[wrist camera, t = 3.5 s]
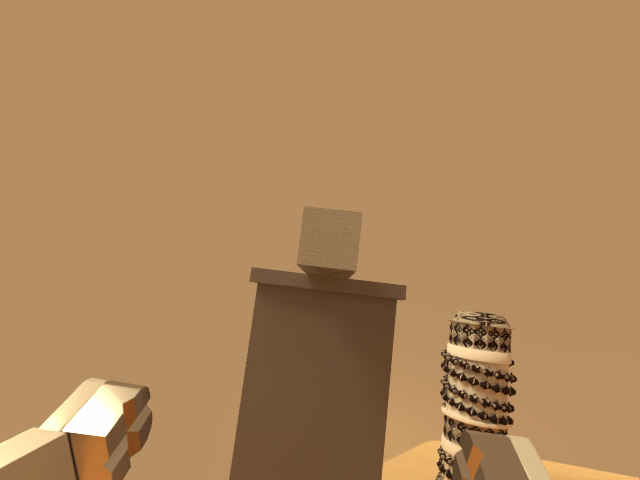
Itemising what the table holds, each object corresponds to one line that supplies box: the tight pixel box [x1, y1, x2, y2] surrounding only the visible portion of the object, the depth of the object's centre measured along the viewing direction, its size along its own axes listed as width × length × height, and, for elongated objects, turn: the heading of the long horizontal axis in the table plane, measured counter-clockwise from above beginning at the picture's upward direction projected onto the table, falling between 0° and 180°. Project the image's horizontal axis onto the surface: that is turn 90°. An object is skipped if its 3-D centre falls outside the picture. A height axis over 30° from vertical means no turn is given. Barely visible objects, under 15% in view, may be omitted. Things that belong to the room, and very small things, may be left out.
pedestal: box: [229, 268, 407, 480], centre depth 29 cm, size 11×11×26 cm
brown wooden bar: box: [297, 207, 362, 279], centre depth 29 cm, size 20×3×4 cm, turn 178°
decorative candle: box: [436, 311, 517, 480], centre depth 47 cm, size 9×9×25 cm
